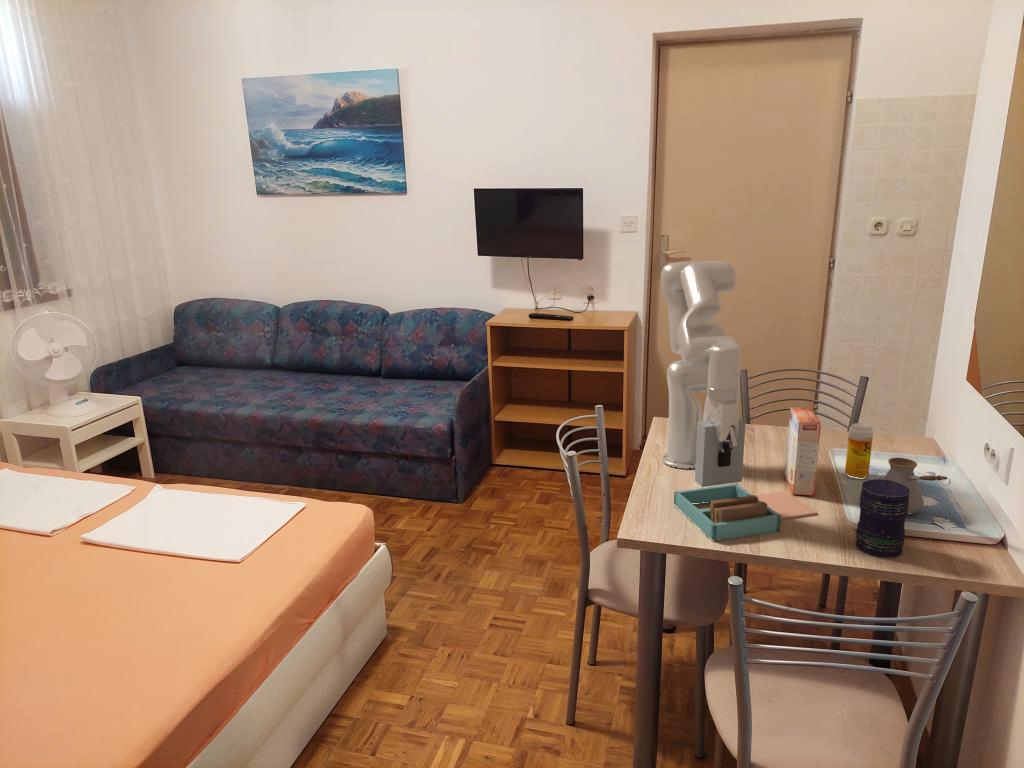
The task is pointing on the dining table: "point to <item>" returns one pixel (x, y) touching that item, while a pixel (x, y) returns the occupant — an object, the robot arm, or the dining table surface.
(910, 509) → the coffee pot
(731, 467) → the grey block
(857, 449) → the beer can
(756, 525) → the rack
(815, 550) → the dining table surface
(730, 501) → the offcut slab
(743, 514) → the offcut slab
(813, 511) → the mat
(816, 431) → the cracker box
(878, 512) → the dark-blue ribbed cylinder
